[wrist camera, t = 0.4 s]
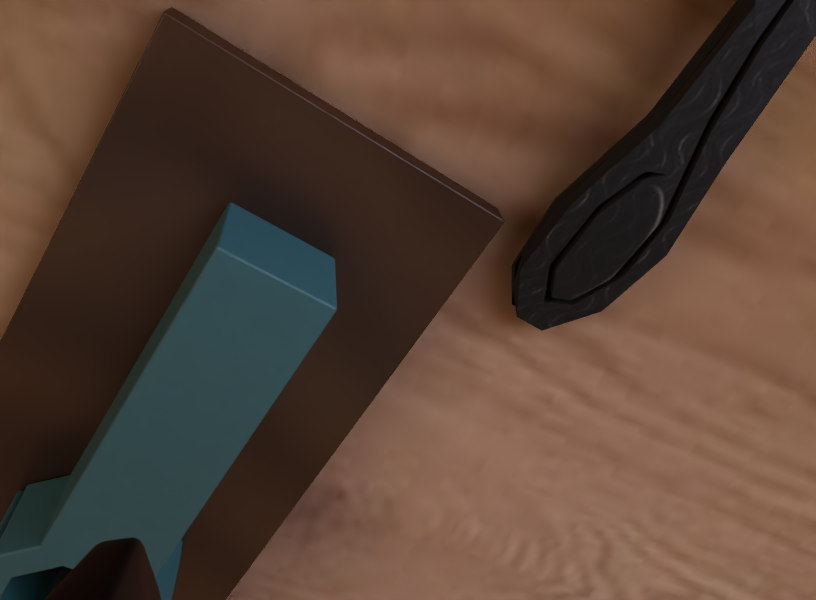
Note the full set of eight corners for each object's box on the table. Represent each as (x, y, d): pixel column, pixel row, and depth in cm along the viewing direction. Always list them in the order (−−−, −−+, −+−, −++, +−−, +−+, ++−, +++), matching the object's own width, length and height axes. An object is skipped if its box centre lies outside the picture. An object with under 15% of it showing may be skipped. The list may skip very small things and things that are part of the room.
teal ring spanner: (135, 619, 26) (115, 699, 24) (-24, 566, 25) (-66, 646, 22) (370, 276, 21) (377, 329, 19) (190, 178, 20) (170, 222, 17)
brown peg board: (194, 624, 28) (162, 809, 23) (-90, 528, 25) (-211, 716, 19) (498, 208, 22) (561, 317, 16) (171, 6, 19) (105, 53, 13)
